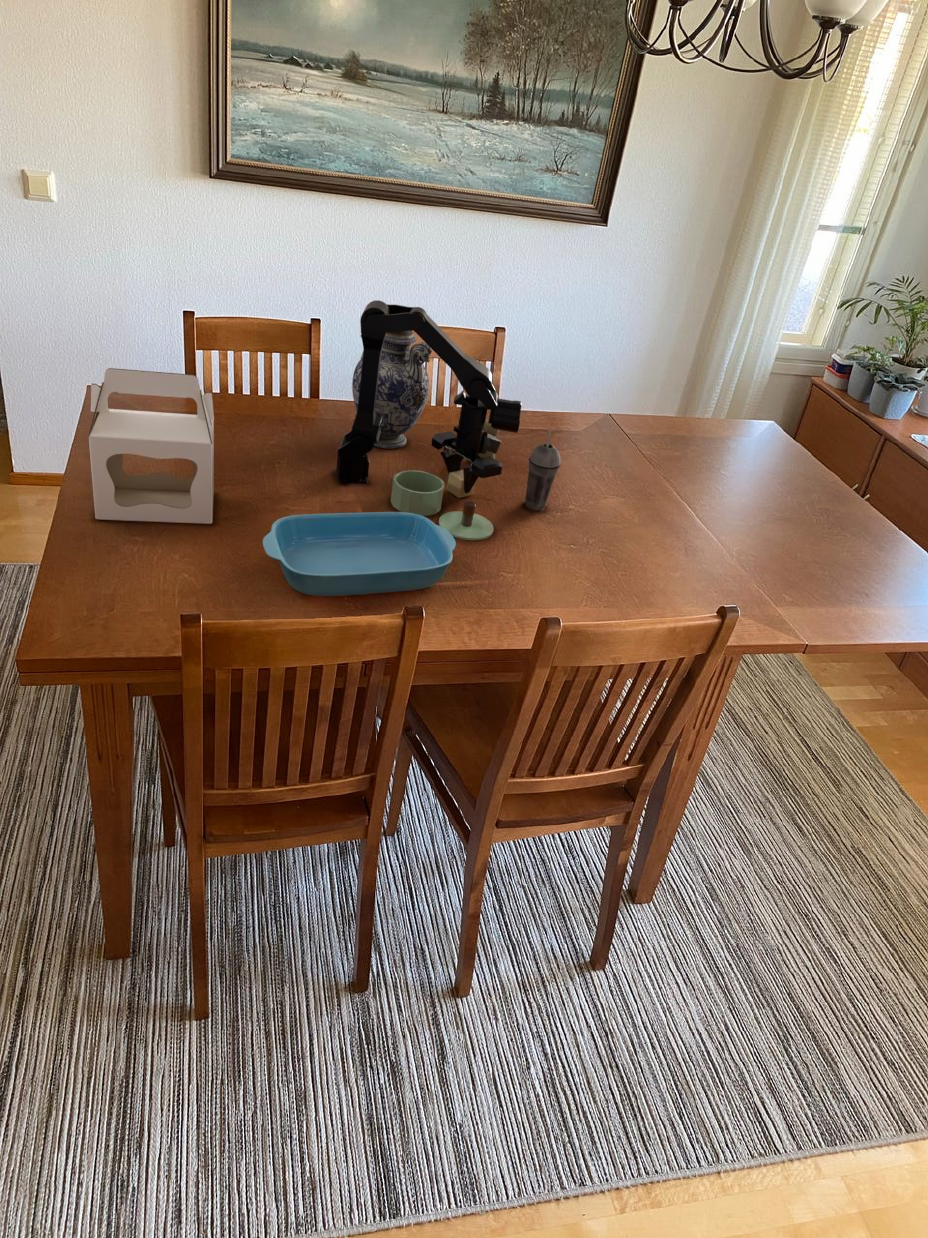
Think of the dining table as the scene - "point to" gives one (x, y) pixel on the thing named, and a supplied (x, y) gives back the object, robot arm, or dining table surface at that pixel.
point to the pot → (417, 492)
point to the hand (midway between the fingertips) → (460, 488)
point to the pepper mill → (493, 433)
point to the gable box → (151, 450)
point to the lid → (466, 523)
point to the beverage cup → (541, 474)
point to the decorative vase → (398, 386)
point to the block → (458, 484)
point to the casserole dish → (359, 552)
